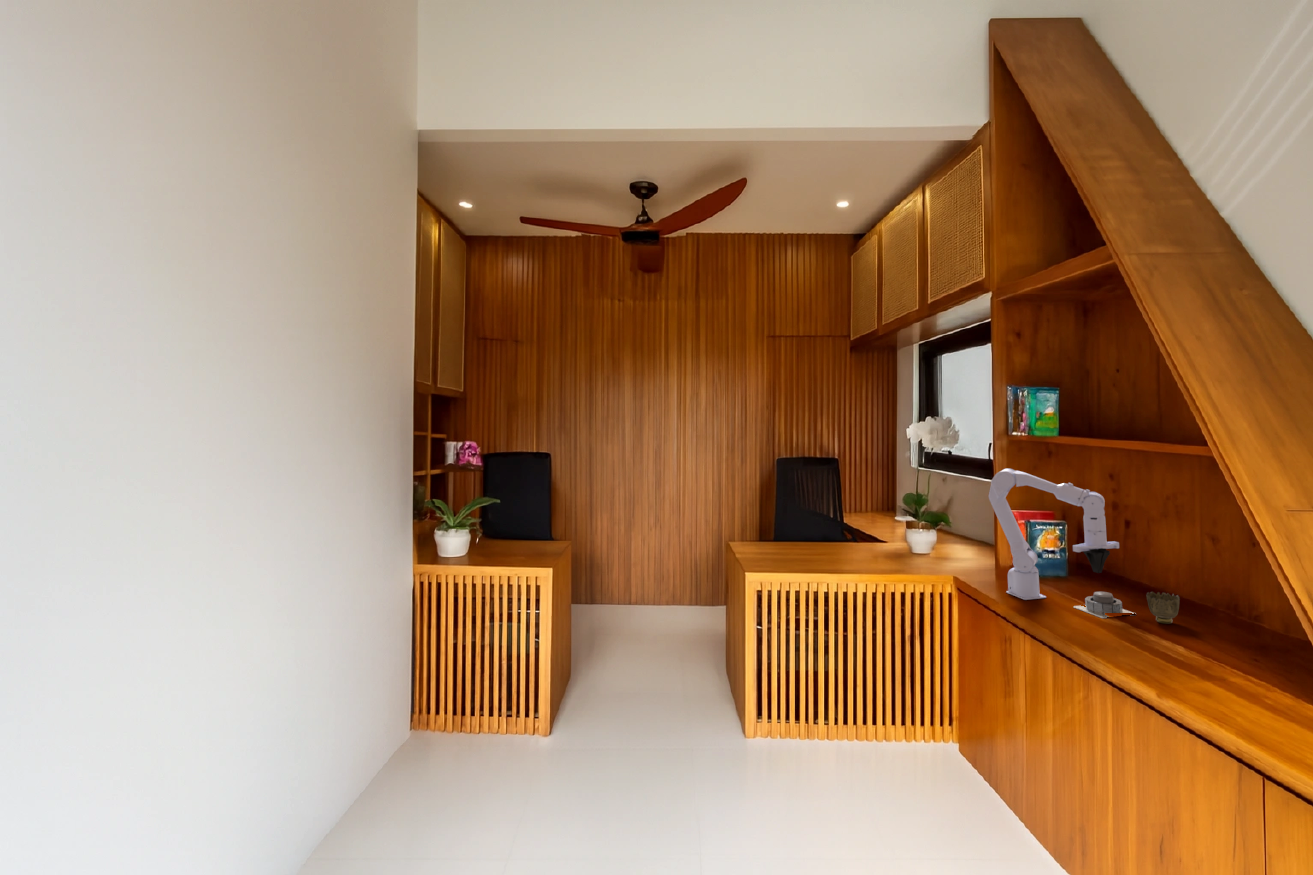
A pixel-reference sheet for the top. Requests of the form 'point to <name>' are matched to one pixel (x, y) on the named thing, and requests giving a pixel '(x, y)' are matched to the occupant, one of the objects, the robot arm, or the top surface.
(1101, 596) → the cap
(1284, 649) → the top surface
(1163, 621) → the cup
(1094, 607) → the flanged metal ring
